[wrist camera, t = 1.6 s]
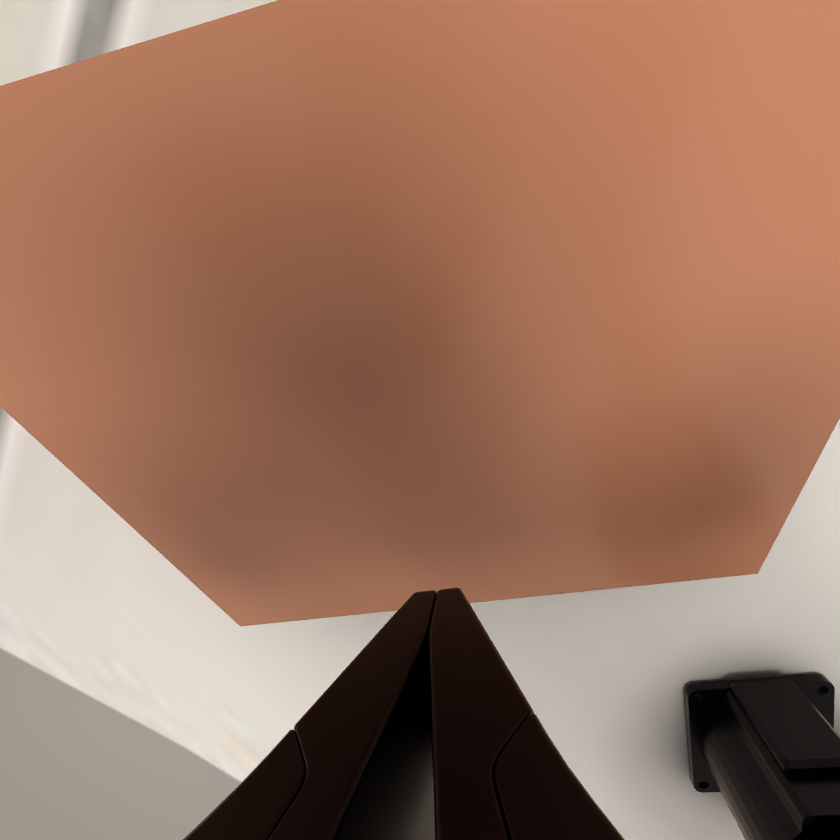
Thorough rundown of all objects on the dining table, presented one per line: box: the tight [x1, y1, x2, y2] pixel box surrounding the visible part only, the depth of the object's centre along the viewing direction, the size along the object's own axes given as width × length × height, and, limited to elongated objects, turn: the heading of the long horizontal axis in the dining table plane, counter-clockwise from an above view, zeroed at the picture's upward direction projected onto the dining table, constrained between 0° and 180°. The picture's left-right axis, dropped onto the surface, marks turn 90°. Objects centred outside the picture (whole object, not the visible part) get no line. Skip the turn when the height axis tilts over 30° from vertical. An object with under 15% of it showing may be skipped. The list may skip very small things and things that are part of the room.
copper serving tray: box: [0, 0, 840, 626], centre depth 11 cm, size 16×18×1 cm
